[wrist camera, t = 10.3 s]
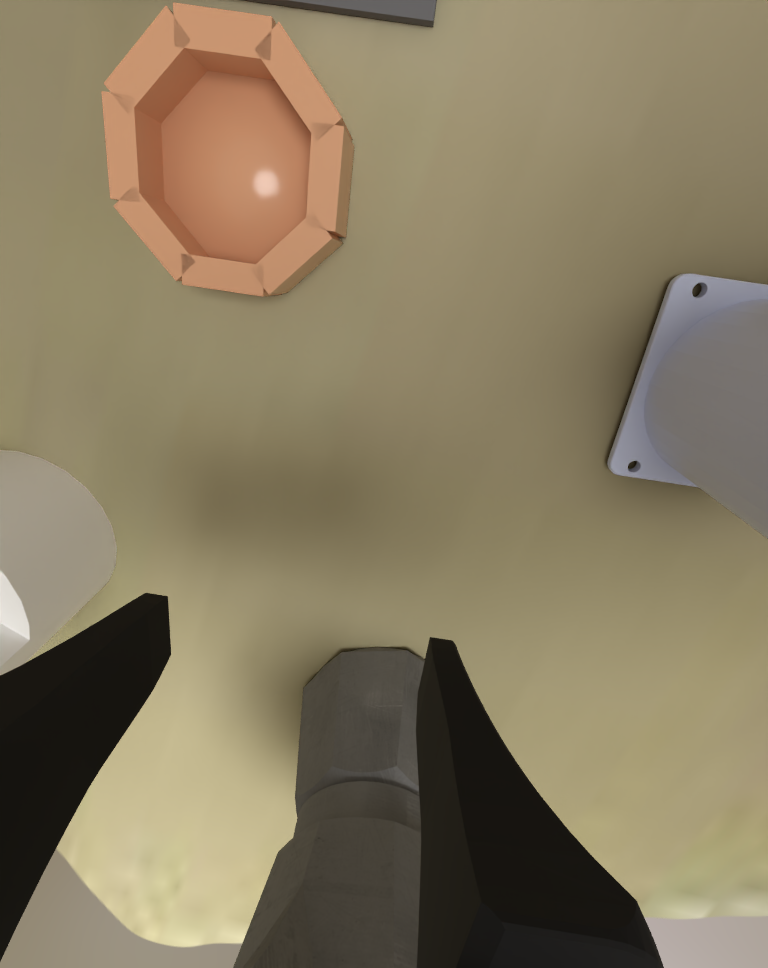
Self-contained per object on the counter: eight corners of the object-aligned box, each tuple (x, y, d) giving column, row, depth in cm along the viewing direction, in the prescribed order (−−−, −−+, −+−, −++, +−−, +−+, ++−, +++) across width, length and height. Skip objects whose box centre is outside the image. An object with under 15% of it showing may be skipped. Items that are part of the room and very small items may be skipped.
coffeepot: (252, 650, 27) (-23, 1255, 10) (403, 590, 24) (367, 1246, 8) (381, 817, 32) (339, 1408, 15) (517, 780, 29) (643, 1430, 13)
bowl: (361, 64, 16) (352, 27, 14) (339, 303, 19) (329, 306, 17) (139, 32, 16) (93, -10, 14) (153, 275, 19) (116, 274, 17)
